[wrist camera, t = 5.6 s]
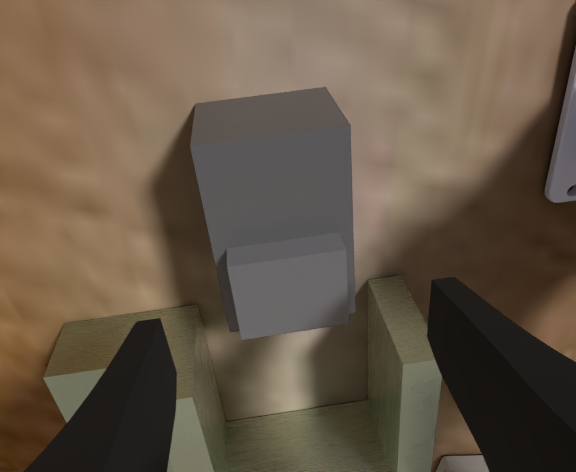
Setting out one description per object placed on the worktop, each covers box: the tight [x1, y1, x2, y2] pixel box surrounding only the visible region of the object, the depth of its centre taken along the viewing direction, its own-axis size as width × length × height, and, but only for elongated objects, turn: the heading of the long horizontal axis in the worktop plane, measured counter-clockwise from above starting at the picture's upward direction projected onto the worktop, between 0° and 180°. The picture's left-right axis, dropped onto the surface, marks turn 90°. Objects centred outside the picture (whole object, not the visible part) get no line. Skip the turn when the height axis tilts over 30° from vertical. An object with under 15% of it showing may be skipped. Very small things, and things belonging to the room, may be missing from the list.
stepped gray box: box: [190, 87, 355, 340], centre depth 17 cm, size 4×7×5 cm, turn 6°
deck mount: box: [43, 275, 442, 472], centre depth 22 cm, size 15×10×5 cm, turn 95°
